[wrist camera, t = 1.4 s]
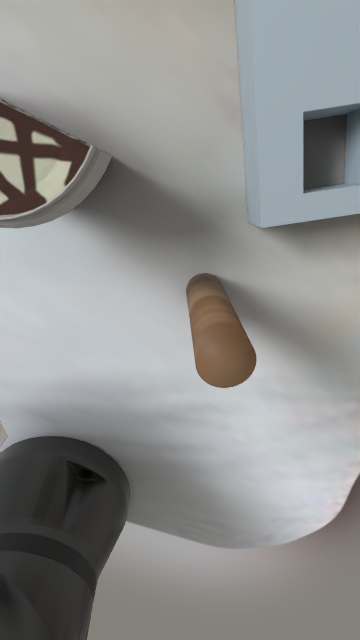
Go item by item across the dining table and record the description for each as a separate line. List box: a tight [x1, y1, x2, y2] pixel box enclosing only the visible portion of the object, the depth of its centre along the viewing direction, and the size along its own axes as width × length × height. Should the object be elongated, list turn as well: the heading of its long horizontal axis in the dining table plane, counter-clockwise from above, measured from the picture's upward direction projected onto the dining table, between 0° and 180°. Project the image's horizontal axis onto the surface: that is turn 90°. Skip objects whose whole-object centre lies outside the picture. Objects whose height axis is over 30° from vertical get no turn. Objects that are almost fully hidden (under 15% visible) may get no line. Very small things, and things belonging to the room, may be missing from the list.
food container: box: [0, 99, 112, 228], centre depth 19 cm, size 12×6×10 cm, turn 64°
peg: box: [186, 273, 256, 388], centre depth 22 cm, size 3×3×12 cm
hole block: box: [235, 0, 360, 228], centre depth 20 cm, size 18×10×4 cm, turn 8°
